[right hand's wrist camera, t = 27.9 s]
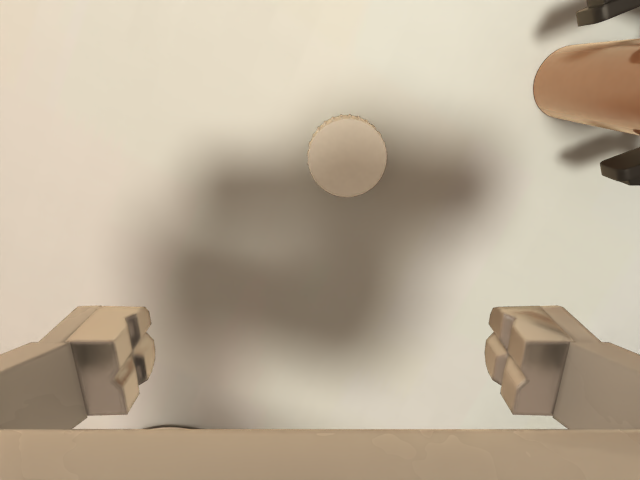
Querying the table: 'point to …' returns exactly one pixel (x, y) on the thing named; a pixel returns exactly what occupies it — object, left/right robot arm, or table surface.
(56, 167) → the table surface
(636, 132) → the tan tall cylinder
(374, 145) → the lid
